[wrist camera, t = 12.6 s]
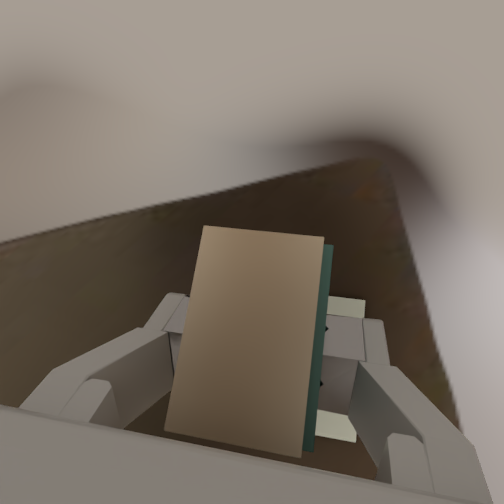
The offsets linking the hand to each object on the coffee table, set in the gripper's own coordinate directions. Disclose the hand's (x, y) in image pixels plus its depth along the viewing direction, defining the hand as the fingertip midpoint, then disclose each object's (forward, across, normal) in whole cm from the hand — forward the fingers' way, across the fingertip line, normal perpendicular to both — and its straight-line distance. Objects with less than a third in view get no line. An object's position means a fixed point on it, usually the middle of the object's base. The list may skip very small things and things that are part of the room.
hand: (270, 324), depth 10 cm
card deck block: (+3, 0, +3) cm, 4 cm away
